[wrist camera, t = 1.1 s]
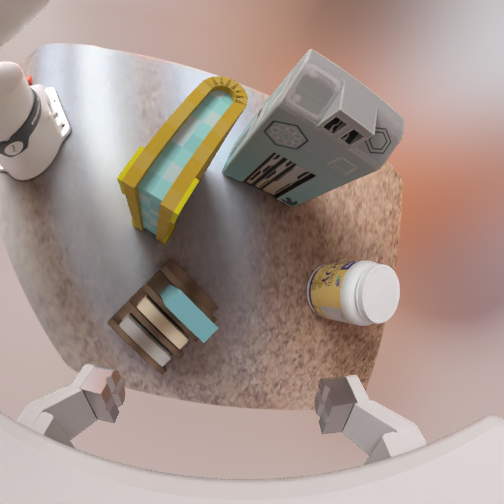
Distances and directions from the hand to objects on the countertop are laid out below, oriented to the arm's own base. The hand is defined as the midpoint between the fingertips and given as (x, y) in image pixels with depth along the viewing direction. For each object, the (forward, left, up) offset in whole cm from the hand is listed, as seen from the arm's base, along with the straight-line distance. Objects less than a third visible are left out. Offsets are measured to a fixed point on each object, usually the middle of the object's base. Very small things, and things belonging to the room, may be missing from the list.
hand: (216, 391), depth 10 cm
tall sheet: (+1, +2, -38) cm, 38 cm away
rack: (+2, -1, -39) cm, 39 cm away
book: (-17, +9, -39) cm, 44 cm away
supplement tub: (+13, +32, -39) cm, 52 cm away
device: (-15, +28, -39) cm, 50 cm away
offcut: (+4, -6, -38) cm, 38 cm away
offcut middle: (+2, -2, -38) cm, 38 cm away
